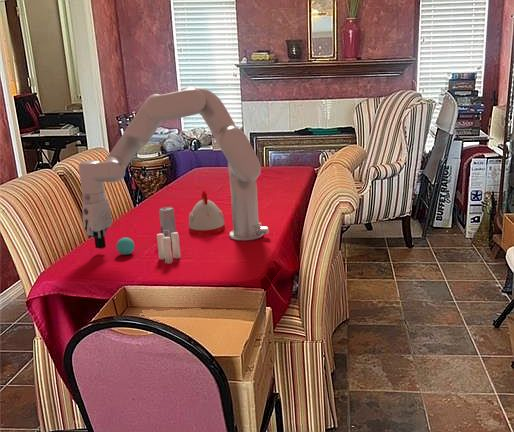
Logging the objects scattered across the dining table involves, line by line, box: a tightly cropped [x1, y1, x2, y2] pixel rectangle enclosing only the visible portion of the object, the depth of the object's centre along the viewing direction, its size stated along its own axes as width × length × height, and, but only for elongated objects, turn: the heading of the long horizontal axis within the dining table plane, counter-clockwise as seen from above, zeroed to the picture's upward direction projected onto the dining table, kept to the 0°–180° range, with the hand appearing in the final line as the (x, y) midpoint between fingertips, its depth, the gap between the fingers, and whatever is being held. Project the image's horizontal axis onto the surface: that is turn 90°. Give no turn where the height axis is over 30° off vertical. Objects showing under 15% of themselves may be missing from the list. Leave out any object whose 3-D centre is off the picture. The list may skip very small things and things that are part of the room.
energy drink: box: [158, 206, 177, 242], centre depth 205 cm, size 5×5×12 cm
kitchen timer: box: [188, 190, 226, 235], centre depth 216 cm, size 14×14×15 cm
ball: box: [116, 236, 135, 256], centre depth 193 cm, size 6×6×6 cm
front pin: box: [156, 233, 165, 261], centre depth 186 cm, size 2×2×8 cm
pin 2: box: [171, 231, 181, 259], centre depth 187 cm, size 2×2×8 cm
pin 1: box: [163, 237, 174, 265], centre depth 182 cm, size 2×2×8 cm
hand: (100, 247), depth 195 cm, fingers closed
